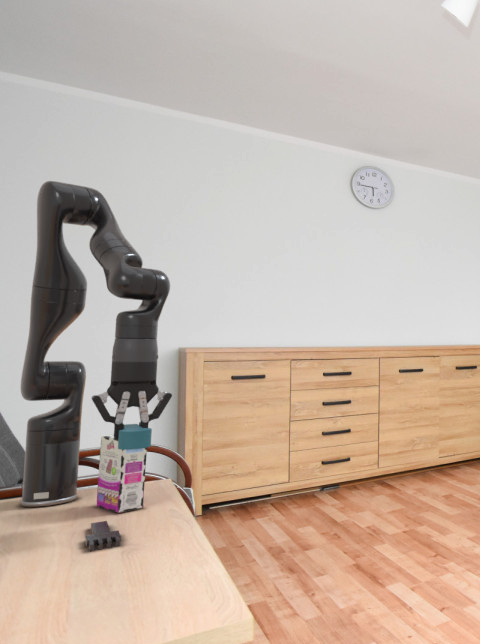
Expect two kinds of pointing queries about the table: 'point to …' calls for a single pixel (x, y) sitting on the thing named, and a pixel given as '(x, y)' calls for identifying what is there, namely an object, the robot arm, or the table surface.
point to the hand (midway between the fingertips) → (130, 440)
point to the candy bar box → (120, 477)
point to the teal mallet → (134, 437)
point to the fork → (102, 536)
